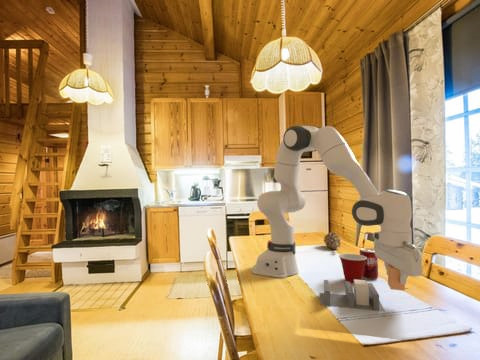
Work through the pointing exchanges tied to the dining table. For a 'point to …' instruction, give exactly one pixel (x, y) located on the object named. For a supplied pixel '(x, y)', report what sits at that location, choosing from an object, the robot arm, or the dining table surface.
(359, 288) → the cream rectangular block
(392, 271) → the orange block
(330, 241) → the pine cone
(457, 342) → the dining table surface
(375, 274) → the soda can
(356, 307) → the grey slotted rack
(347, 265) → the plastic cup
